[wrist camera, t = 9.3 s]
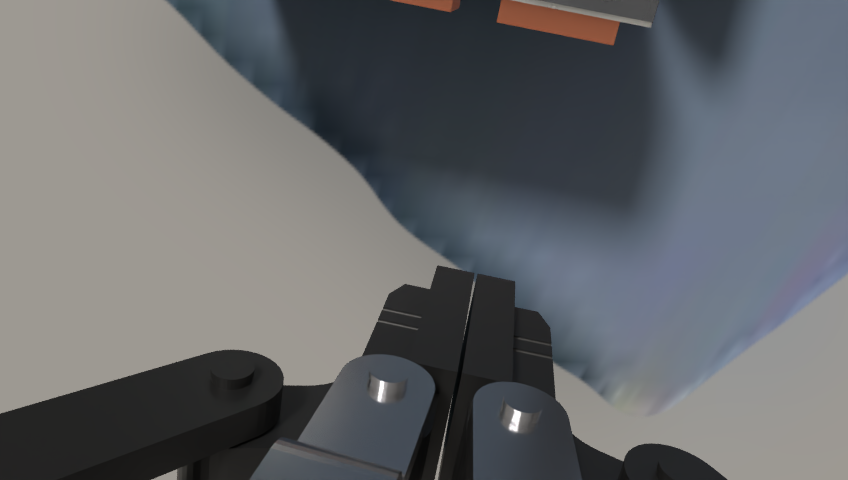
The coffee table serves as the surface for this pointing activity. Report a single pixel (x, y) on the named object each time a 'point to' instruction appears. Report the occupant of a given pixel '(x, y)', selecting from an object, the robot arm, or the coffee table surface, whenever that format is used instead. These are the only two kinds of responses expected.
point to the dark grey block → (606, 9)
